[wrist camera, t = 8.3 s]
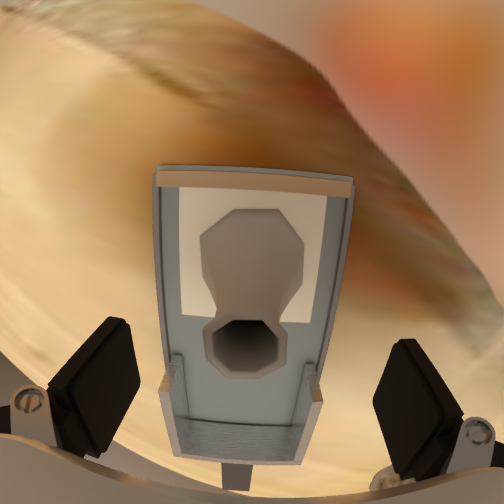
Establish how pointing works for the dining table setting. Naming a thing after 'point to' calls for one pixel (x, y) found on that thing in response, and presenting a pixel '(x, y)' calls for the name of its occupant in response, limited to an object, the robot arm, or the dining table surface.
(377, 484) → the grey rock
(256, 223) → the flask
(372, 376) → the dining table surface
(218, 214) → the base board
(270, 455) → the housing
